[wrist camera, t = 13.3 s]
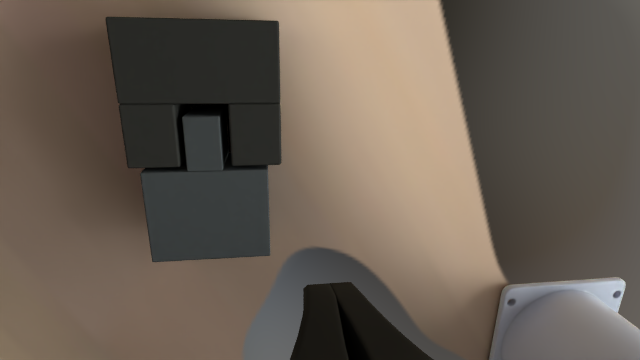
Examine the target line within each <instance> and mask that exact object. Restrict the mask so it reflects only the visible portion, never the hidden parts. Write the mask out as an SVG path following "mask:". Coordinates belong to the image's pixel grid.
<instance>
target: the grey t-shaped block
mask: <svg viewBox="0 0 640 360" xmlns="http://www.w3.org/2000/svg"><path fill="white" fill-rule="evenodd" d="M182 122H183V133H184V143H185V153H186V159H185V160H184V161H183V163H182V164H181V166H180V167H159V168H145V169H144V170H143V171H142V172H141V173H140V176H141V183H142V190H143V198H144V205H145V212H146V219H147V226H148V234H149V241H150V248H151V255H152V261H153V262H164V261H182V260H201V259H219V258H237V257H255V256H270V224H269V191H268V165H243V166H234V165H232V159H231V153H229V143H228V127H227V111H226V106H195V107H194V108H193V109H191V110H190V111H189V112H188V113H186V114H185V115H184V116H183V117H182Z"/></svg>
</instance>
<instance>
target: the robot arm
mask: <svg viewBox="0 0 640 360" xmlns="http://www.w3.org/2000/svg"><path fill="white" fill-rule="evenodd" d="M624 289H625V282H624V281H623V280H622V279H620V278H618V277H611V278H597V279H583V280H568V281H554V282H540V283H526V284H512V285H507V286H506V287H504V289H503V290H502V293H501V298H500V304H499V309H498V314H497V319H496V325H495V330H494V335H493V341H492V346H491V351H490V357H489V360H640V330H639V329H638V328H637V327H635V326H634V325H633V324H631V323H630V322H629V321H627V320H626V319H624V318H623V317H622V316H621V315H619V314H618V309H619V305H620V303H621V299H622V296H623V293H624ZM510 299H511V300H510ZM509 300H510V301H509ZM508 301H509V302H508ZM290 360H433V359H432V358H431V357H429V356H428V355H427V354H425V353H424V352H423V351H422V350H420V349H419V348H418V347H417V346H416V345H414V344H413V343H412V342H411V341H410V340H409V339H407V338H406V337H405V336H404V335H403V334H402V333H401V332H399V331H398V330H397V329H396V328H395V327H394V326H393V325H392V324H391V323H390V322H389V321H388V320H387V319H386V318H385V317H384V316H383V315H382V314H381V313H380V312H379V311H378V310H377V309H376V308H375V307H374V306H373V305H372V304H371V303H370V302H369V301H368V300H367V299H366V298H365V296H364V295H363V294H362V293H361V292H360V291H359V290H358V289H357V288H356V287H355V286H354V285H353V284H352V283H351V282H344V283H330V284H313V285H307V286H306V287H305V288H304V311H303V317H302V321H301V325H300V329H299V333H298V337H297V340H296V343H295V346H294V349H293V352H292V355H291V358H290Z"/></svg>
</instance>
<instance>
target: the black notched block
mask: <svg viewBox="0 0 640 360" xmlns="http://www.w3.org/2000/svg"><path fill="white" fill-rule="evenodd" d="M106 25H107V32H108V39H109V45H110V52H111V59H112V66H113V72H114V79H115V86H116V93H117V99H118V103H119V104H120V105H119V112H120V118H121V125H122V132H123V139H124V145H125V152H126V159H127V166H128V168H159V167H180V166H181V164H182V163H183V161H184V160H185V159H186V153H185V143H184V133H183V122H182V117H183V116H184V115H185V114H186V113H188V112H189V104H229V106H228V108H229V125H230V142H231V159H232V165H234V166H243V165H279V164H281V115H280V59H279V22H278V21H261V20H220V19H180V18H139V17H106Z"/></svg>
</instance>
